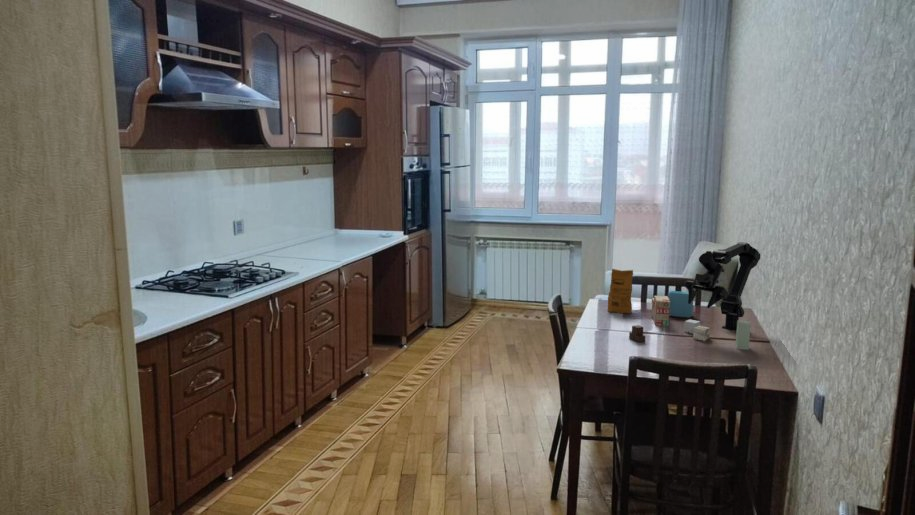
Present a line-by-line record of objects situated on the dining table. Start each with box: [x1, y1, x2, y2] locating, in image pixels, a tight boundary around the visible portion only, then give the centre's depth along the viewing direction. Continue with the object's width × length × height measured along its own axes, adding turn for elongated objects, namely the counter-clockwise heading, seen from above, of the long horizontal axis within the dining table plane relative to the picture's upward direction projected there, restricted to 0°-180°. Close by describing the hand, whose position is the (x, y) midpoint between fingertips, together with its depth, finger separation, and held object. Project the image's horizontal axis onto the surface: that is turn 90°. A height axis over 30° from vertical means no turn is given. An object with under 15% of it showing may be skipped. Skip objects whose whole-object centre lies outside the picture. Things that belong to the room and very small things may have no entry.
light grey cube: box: [683, 319, 701, 335], centre depth 293 cm, size 5×5×5 cm
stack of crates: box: [628, 324, 646, 344], centre depth 279 cm, size 15×15×7 cm
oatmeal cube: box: [692, 325, 711, 342], centre depth 282 cm, size 5×5×5 cm
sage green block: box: [734, 320, 752, 351], centre depth 269 cm, size 4×4×11 cm
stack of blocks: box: [650, 295, 670, 327], centre depth 313 cm, size 21×6×12 cm, turn 169°
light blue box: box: [667, 290, 694, 319], centre depth 323 cm, size 12×4×12 cm, turn 66°
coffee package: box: [607, 268, 634, 314], centre depth 330 cm, size 10×12×22 cm
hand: (698, 305), depth 282 cm, fingers open, 9 cm apart
